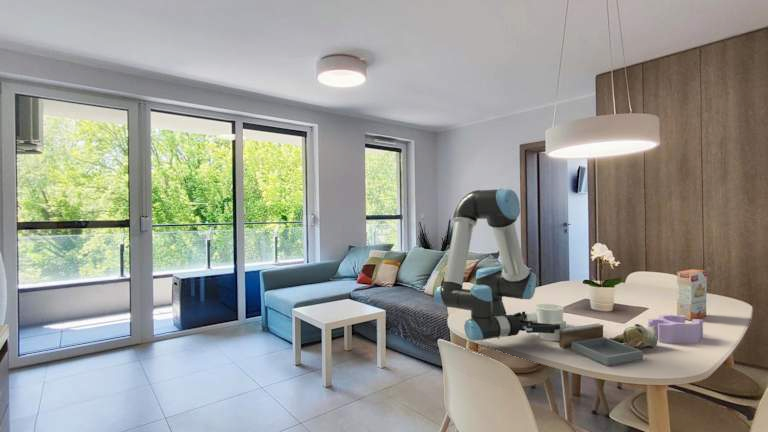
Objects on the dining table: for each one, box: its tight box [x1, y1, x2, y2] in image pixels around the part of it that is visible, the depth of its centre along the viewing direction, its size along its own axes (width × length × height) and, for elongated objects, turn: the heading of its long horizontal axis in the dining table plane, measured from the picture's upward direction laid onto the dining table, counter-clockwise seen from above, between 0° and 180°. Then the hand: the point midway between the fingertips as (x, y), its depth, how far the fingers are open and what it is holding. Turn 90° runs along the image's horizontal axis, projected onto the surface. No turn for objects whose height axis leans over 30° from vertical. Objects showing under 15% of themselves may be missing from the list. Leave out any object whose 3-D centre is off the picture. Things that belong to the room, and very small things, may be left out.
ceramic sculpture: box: [608, 323, 658, 350], centre depth 138 cm, size 11×9×15 cm
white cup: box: [535, 303, 564, 342], centre depth 150 cm, size 10×10×12 cm
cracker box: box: [676, 268, 708, 321], centre depth 172 cm, size 14×6×21 cm, turn 118°
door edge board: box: [559, 323, 604, 350], centre depth 141 cm, size 2×18×7 cm, turn 107°
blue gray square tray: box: [570, 336, 644, 368], centre depth 131 cm, size 15×15×3 cm
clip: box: [647, 314, 704, 344], centre depth 147 cm, size 20×12×7 cm, turn 107°
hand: (552, 320), depth 150 cm, fingers open, 13 cm apart
